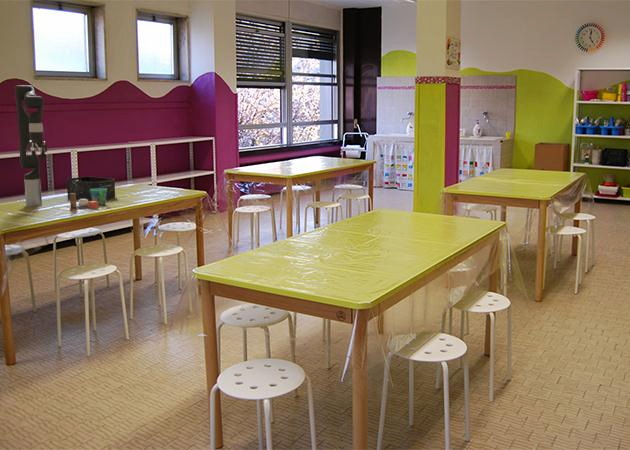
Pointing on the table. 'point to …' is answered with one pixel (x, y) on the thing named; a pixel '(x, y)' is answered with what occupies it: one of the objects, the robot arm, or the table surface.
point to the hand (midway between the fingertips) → (38, 158)
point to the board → (90, 205)
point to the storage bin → (90, 187)
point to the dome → (83, 202)
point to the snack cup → (99, 195)
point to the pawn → (73, 201)
